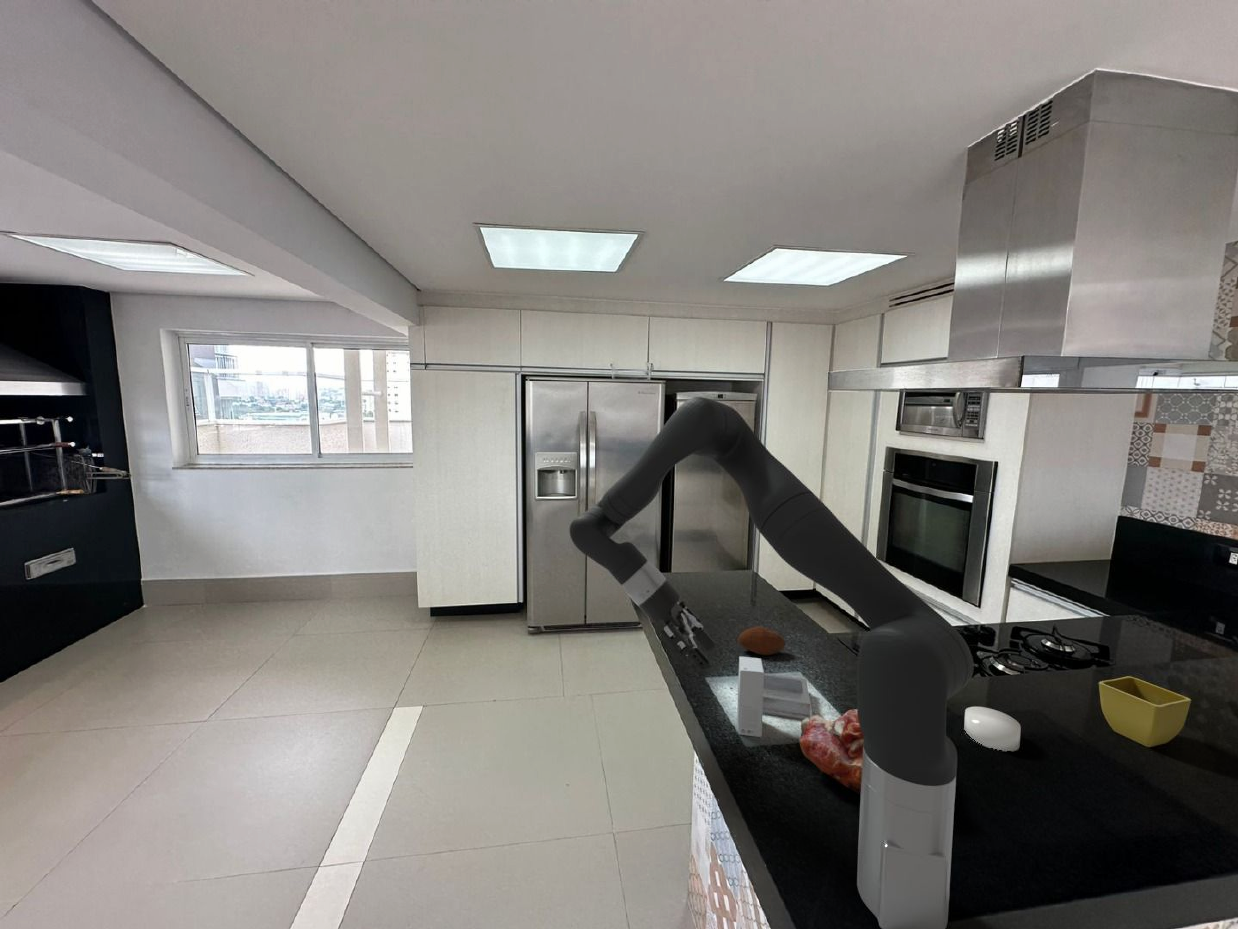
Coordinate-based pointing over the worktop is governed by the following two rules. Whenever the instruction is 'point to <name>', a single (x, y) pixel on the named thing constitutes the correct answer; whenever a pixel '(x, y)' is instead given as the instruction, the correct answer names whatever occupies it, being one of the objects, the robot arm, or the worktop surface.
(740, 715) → the skincare box
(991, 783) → the worktop surface
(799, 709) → the tray
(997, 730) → the white domed puck
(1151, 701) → the flower pot
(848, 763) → the meat
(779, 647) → the potato
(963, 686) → the robot arm
